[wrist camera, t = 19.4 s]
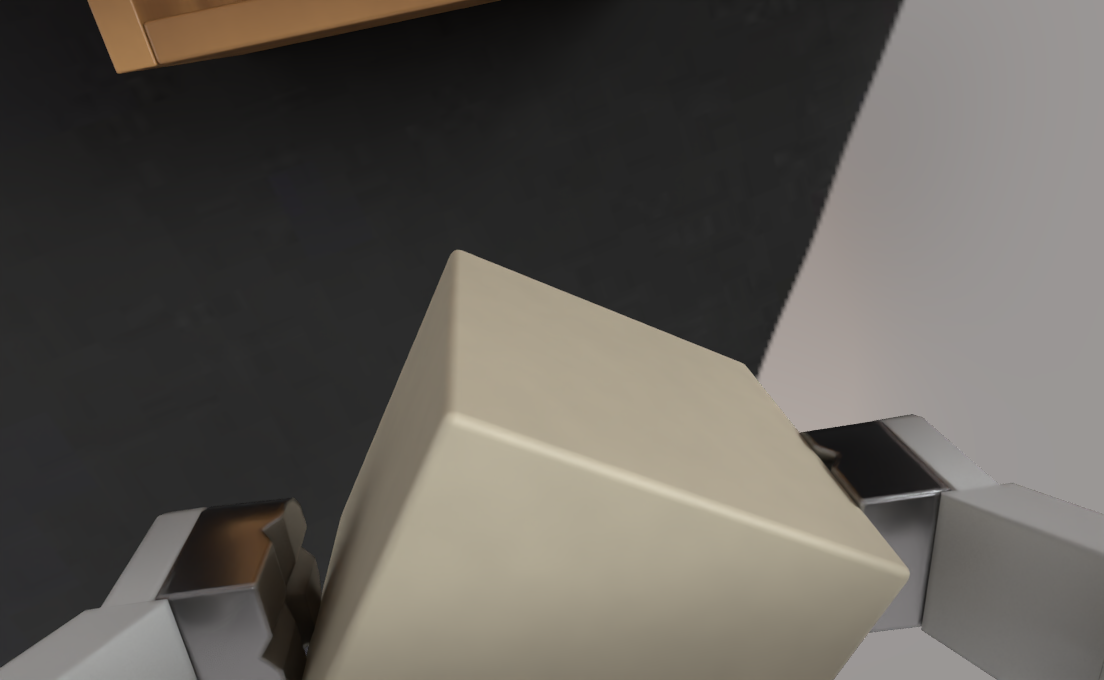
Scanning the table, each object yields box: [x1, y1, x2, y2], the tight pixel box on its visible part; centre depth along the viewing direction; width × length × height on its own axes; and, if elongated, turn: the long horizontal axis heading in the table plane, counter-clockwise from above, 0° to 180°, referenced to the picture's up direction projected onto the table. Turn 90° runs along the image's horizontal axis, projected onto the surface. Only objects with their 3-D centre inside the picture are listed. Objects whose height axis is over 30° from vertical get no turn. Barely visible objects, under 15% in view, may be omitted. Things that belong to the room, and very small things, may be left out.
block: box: [302, 250, 910, 680], centre depth 9 cm, size 4×4×4 cm
